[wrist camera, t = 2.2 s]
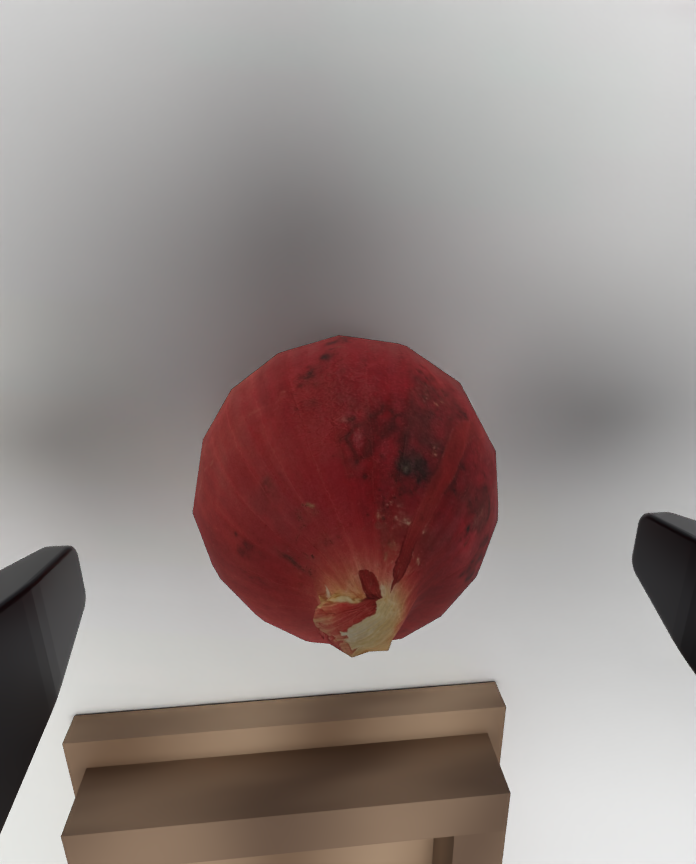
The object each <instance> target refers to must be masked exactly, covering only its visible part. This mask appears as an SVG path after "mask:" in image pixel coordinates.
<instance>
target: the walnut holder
mask: <svg viewBox="0 0 696 864" xmlns="http://www.w3.org/2000/svg"><path fill="white" fill-rule="evenodd" d="M505 711H506V706H505V703H504V701H503V699H502V697H501V694H500V692H499V690H498V687H497V685H496V683H495V682H488V683H476V684H463V685H451V686H438V687H426V688H413V689H401V690H389V691H376V692H364V693H351V694H339V695H326V696H314V697H301V698H289V699H276V700H264V701H251V702H239V703H227V704H214V705H202V706H189V707H177V708H164V709H152V710H139V711H127V712H114V713H102V714H89V715H77V716H74V718H73V720H72V723H71V725H70V727H69V730H68V732H67V734H66V737H65V739H64V741H63V744H62V745H63V749H64V753H65V757H66V761H67V765H68V769H69V773H70V777H71V782H72V786H73V790H74V794H75V800H74V803H73V806H72V808H71V811H70V814H69V816H68V819H67V822H66V824H65V827H64V830H63V833H62V835H61V839H62V843H63V846H64V850H65V854H66V858H67V861H68V864H502V858H503V850H504V842H505V834H506V825H507V817H508V809H509V801H510V791H509V788H508V785H507V783H506V780H505V778H504V775H503V772H502V770H501V767H500V756H501V747H502V738H503V729H504V720H505Z"/></svg>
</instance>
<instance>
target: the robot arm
mask: <svg viewBox="0 0 696 864" xmlns="http://www.w3.org/2000/svg"><path fill="white" fill-rule="evenodd" d="M632 564H633V568H634V571H635V573H636V575H637V577H638V579H639V581H640V582H641V584H642V586H643V588H644V589H645V591H646V593H647V595H648V597H649V598H650V600H651V602H652V604H653V606H654V607H655V609H656V611H657V613H658V614H659V616H660V618H661V620H662V622H663V623H664V625H665V627H666V629H667V630H668V632H669V634H670V636H671V638H672V639H673V641H674V643H675V644H676V646H677V648H678V649H679V651H680V652H681V654H682V655H683V657H684V658H685V660H686V661H687V663H688V664H689V666H690V667H691V669H692V670H693V672H694V673H695V674H696V521H695V520H692V519H689V518H686V517H683V516H680V515H677V514H674V513H670V512H658V513H647V514H644V515H643V516H642V517H641V518H640V520H639V523H638V528H637V533H636V539H635V544H634V550H633V555H632ZM85 599H86V595H85V588H84V583H83V578H82V573H81V568H80V563H79V558H78V554H77V552H76V550H75V548H73V547H72V546H50V547H44V548H42V549H40V550H38V551H36V552H34V553H32V554H30V555H28V556H27V557H25V558H23V559H21V560H19V561H17V562H15V563H13V564H11V565H9V566H7V567H5V568H4V569H2V570H0V833H1V831H2V828H3V826H4V824H5V821H6V819H7V817H8V814H9V812H10V810H11V807H12V805H13V802H14V800H15V798H16V795H17V793H18V791H19V788H20V786H21V784H22V781H23V779H24V777H25V774H26V772H27V769H28V767H29V765H30V762H31V760H32V758H33V755H34V753H35V751H36V748H37V746H38V743H39V741H40V739H41V736H42V734H43V732H44V729H45V727H46V725H47V722H48V720H49V718H50V715H51V713H52V710H53V708H54V705H55V703H56V700H57V697H58V694H59V691H60V688H61V685H62V682H63V679H64V675H65V672H66V668H67V665H68V662H69V658H70V655H71V651H72V648H73V645H74V641H75V638H76V634H77V631H78V628H79V624H80V621H81V618H82V614H83V611H84V607H85Z"/></svg>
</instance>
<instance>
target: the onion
mask: <svg viewBox="0 0 696 864" xmlns="http://www.w3.org/2000/svg"><path fill="white" fill-rule="evenodd" d="M193 515H194V518H195V520H196V523H197V526H198V528H199V531H200V533H201V536H202V539H203V541H204V544H205V547H206V549H207V552H208V554H209V557H210V560H211V562H212V565H213V567H214V568H215V570H216V572H217V573H218V575H219V577H220V579H221V580H222V581H223V582H224V583H225V584H226V585H227V586H228V587H229V588H230V589H231V590H232V591H233V592H234V593H235V594H236V595H237V596H238V597H239V598H240V599H241V600H242V601H243V602H244V603H245V604H246V605H247V606H248V607H249V608H250V609H251V610H252V611H253V612H254V613H255V614H256V615H257V616H259V617H260V618H261V619H262V620H264V621H265V622H267V623H269V624H271V625H273V626H276V627H278V628H280V629H282V630H284V631H286V632H288V633H290V634H292V635H294V636H297V637H299V638H301V639H303V640H305V641H309V642H316V643H328V644H331V645H333V646H334V647H336V648H337V649H339V650H341V651H342V652H344V653H346V654H347V655H349V656H351V657H355V656H358V655H360V654H363V653H366V652H369V651H388V650H389V647H390V645H391V642H392V640H396V639H402V638H404V637H405V636H407V635H409V634H411V633H412V632H414V631H416V630H418V629H420V628H421V627H423V626H425V625H427V624H428V623H430V622H432V621H434V620H435V619H437V618H439V617H441V615H442V614H443V613H444V612H445V611H446V610H447V609H448V608H449V607H450V606H451V605H452V604H453V602H454V601H455V600H456V599H457V598H458V597H459V596H460V595H461V593H462V592H463V591H464V590H465V589H466V588H467V587H468V585H469V584H470V583H471V582H472V581H473V580H474V579H475V578H476V576H477V574H478V571H479V569H480V566H481V564H482V561H483V559H484V556H485V553H486V550H487V548H488V545H489V542H490V540H491V537H492V534H493V531H494V529H495V526H496V523H497V521H498V491H497V470H496V451H495V449H494V447H493V445H492V443H491V441H490V440H489V438H488V436H487V434H486V432H485V430H484V428H483V426H482V424H481V422H480V420H479V418H478V417H477V415H476V413H475V411H474V409H473V407H472V405H471V403H470V401H469V399H468V397H467V395H466V394H465V392H464V390H463V388H462V386H461V384H460V383H459V382H458V381H456V380H455V379H453V378H452V377H451V376H449V375H448V374H446V373H445V372H443V371H442V370H440V369H439V368H438V367H436V366H435V365H433V364H432V363H430V362H429V361H427V360H426V359H425V358H423V357H422V356H420V355H419V354H417V353H416V352H414V351H413V350H411V349H410V348H409V347H407V346H404V345H401V344H398V343H391V342H384V341H376V340H369V339H362V338H355V337H348V336H341V335H338V336H335V337H331V338H328V339H324V340H321V341H318V342H314V343H311V344H308V345H304V346H301V347H297V348H294V349H291V350H287V351H284V352H281V353H278V354H277V355H275V356H274V357H273V358H272V359H270V360H269V361H268V362H266V363H265V364H264V365H263V366H261V367H260V368H259V369H257V370H256V371H255V372H253V373H252V374H251V375H250V376H248V377H247V378H246V379H244V380H243V381H242V382H241V383H239V384H238V385H237V386H235V387H234V388H233V389H231V391H230V393H229V395H228V396H227V398H226V400H225V402H224V403H223V405H222V407H221V409H220V410H219V412H218V414H217V416H216V417H215V419H214V421H213V423H212V424H211V426H210V428H209V430H208V431H207V433H206V435H205V437H204V439H203V443H202V450H201V457H200V464H199V471H198V478H197V485H196V492H195V499H194V507H193Z"/></svg>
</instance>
